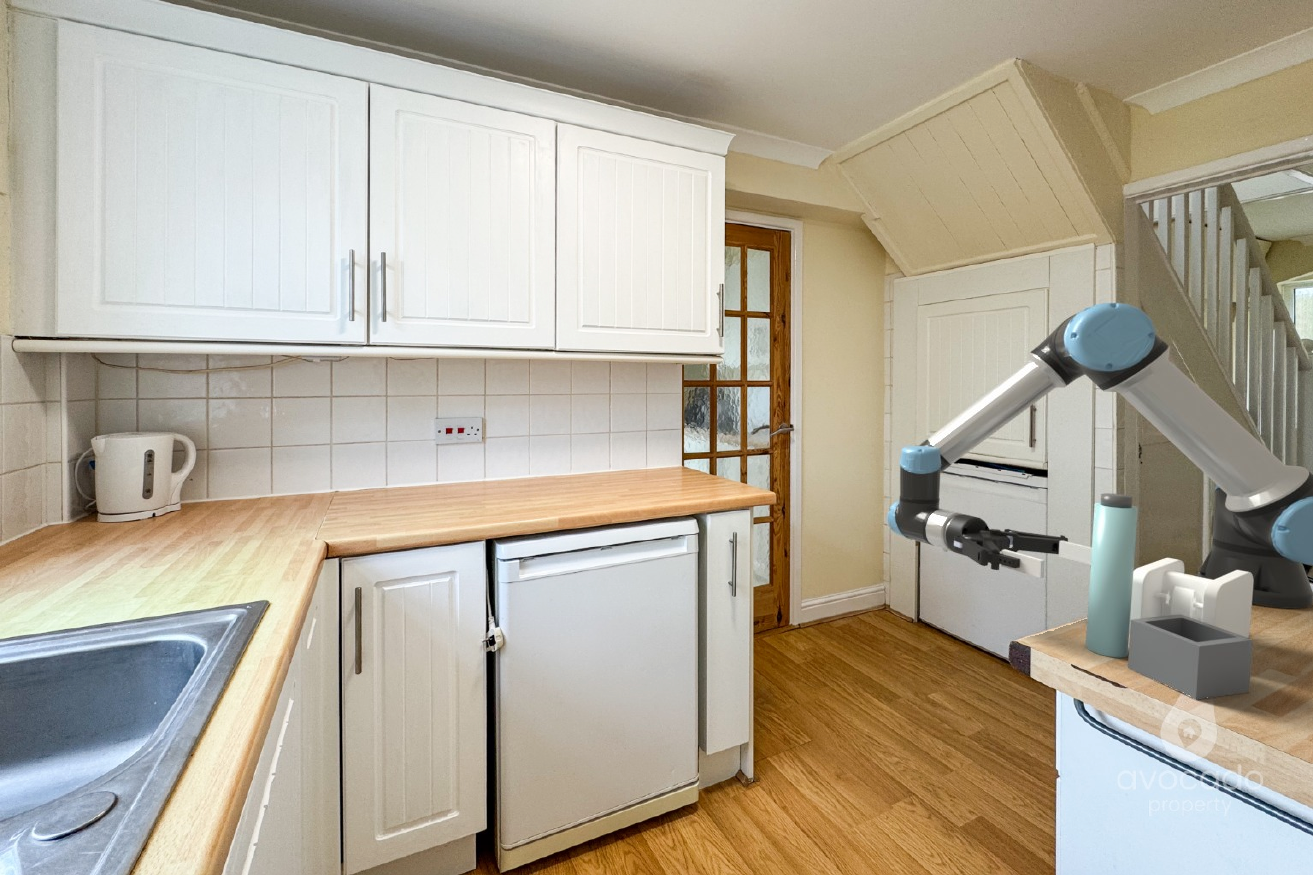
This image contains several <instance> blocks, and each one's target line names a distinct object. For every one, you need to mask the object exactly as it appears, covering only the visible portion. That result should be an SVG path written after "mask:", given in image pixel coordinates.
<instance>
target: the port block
mask: <svg viewBox="0 0 1313 875" xmlns="http://www.w3.org/2000/svg"><path fill="white" fill-rule="evenodd" d="M1253 643H1254V640H1253V639H1252V638H1249V637H1248V638H1247V637H1244V636H1241V635H1238V634H1235V633H1232V632H1230V631H1227V630H1224V629H1221V628H1218V627H1215V626H1212V625H1210V624H1207V623H1204V622H1201V621H1198V620H1195V619H1192V618H1190V617H1187V616H1184V615H1181V614H1178V615H1169V616H1160V617H1151V618H1142V619H1132V620H1131V623H1130V635H1129V643H1128V660H1127V662H1128V664H1127V668H1128V669H1129V670H1131V671H1134V672H1136V673H1139V674H1140V675H1141V676H1144V677H1147V678H1149V679H1150V678H1151V680H1153V679H1154V680H1153V681H1154V682H1157V681H1158V682H1157V683H1159V682H1160V683H1159V684H1161V683H1163V684H1166V685H1168V686H1170V687H1172V688H1173V689H1172V688H1171V689H1172V690H1174V689H1177V690H1178V691H1181V692H1184V693H1185V694H1187V695H1190V696H1191V697H1192V698H1191V697H1190V698H1191V699H1193V698H1194V699H1193V700H1195V699H1196V701H1197V700H1203V699H1202V698H1206V699H1211V697H1212V698H1219V697H1223V696H1224V697H1225V696H1233V695H1239V694H1245V693H1250V685H1251V673H1252V672H1251V671H1252V659H1253V658H1252V657H1253V647H1254V646H1253V645H1254V644H1253ZM1163 684H1162V685H1163ZM1178 691H1177V692H1178ZM1218 696H1219V697H1218ZM1207 697H1208V698H1207Z"/></svg>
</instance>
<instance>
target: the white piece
mask: <svg viewBox="0 0 1313 875" xmlns="http://www.w3.org/2000/svg"><path fill="white" fill-rule="evenodd" d="M1252 595H1253V575H1252V573H1250V572H1246V571H1241V570H1235V571H1233V572H1231V573H1229V574H1226V575H1224V576H1222V577H1219V578H1217V579H1215V580H1211V579H1206V578H1202V577H1197V576H1196V575H1192V574H1187V573H1185V564H1184V561H1183V560H1180V559H1177V558H1171V557H1166V558H1162V559H1160V560H1156V561H1154V562H1150V563H1148V564H1145V565H1143V566H1139V567H1137V568H1136V569H1134V572H1133V586H1132V600H1131V614H1130V623H1131V620H1132V619H1142V618H1151V617H1160V616H1169V615H1178V614H1181V615H1184V616H1187V617H1190V618H1192V619H1195V620H1198V621H1201V622H1204V623H1207V624H1210V625H1212V626H1215V627H1218V628H1221V629H1224V630H1227V631H1230V632H1232V633H1235V634H1238V635H1241V636H1244V637H1247V638H1249V635H1250V631H1251V622H1252V621H1251V619H1252V608H1253V607H1252V606H1253V604H1252ZM1129 636H1130V628H1129Z"/></svg>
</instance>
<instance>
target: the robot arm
mask: <svg viewBox="0 0 1313 875" xmlns="http://www.w3.org/2000/svg"><path fill="white" fill-rule="evenodd" d="M1048 335H1049V336H1047V337H1046V338H1044V340H1043V341H1041V343H1040V344H1039V345H1038V346H1036V347H1035V348H1034V349H1033V350H1031V351H1030V352H1029V353H1027V360H1026V361H1025V362H1024V363H1023V364H1021V365H1020V366H1019V367H1017V368H1016V369H1015V370H1014V371H1012V372H1011V373H1009V375H1008V376H1006V377H1005V378H1003V379H1002V380H1001V381H999V382H998V383H997V384H996V385H995V386H993V387H992V388H990V389H989V390H988V391H987V392H985V393H984V394H983V395H981V396H980V397H979V398H978V399H976V400H975V401H973V403H971V404H970V405H969V406H968V407H966V408H964V409H963V411H961V412H959V414H957V415H956V416H955V417H953V418H952V419H950V420H949V421H948V422H947V423H945V424H944V425H943V426H941V427H940V428H939V429H938V430H936V431H935V432H934V433H933V434H931V435H930V436H929V437H928V438H926V439H925V440H923V441H922V442H921V443H920V444H919V445H910V446H909V445H908V446H904V447H903V448H902V449H901V450H900V459H899V469H900V470H899V500H897V501H895V502H894V503H892V505H891V506H890V507H889V511H888V512H887V515H886V517H887V518H886V520H887V525H888V527H889V528H890V530H891V531H892V532H894V534H896V535H899V536H902V537H904V538H906V539H908V540H910V541H912V540H913V541H916V542H919V543H923V544H927V545H930V546H934V547H936V548H940V549H942V552H944V553H945V552H946V553H947V552H948V551H950V552H953V553H956V554H958V555H961V556H966V557H968V558H969V559H971V560H972V561H973V562H975V563H976V564H978V565H980V566H982V567H986V566H988V565H989V563H990V569H991V570H994V571H1000V565H1001V567H1002V568H1006V569H1009V570H1013V571H1016V572H1019V573H1021V574H1026V575H1028V576H1029V575H1030V576H1031V577H1035V578H1038V579H1043V578H1044V576H1045V559H1041V558H1038V557H1035V556H1031V555H1027V554H1024V553H1020V552H1021V551H1022V552H1032V553H1041V554H1052V555H1058V557H1060V558H1064V559H1067V560H1071V561H1075V562H1078V563H1081V564H1086V565H1089V566H1091V553H1092V546H1087V545H1084V544H1078V543H1075V542H1070V541H1069V538H1068V537H1066V536H1065V535H1062V534H1061V535H1060V536H1056V535H1048V534H1041V533H1040V534H1039V533H1032V532H1024V531H1017V530H1015V529H1014V530H1013V529H1010V528H1004V531H1003V530H1001V529H997V528H989V527H990V526H988V523H987V522H986V521H985V520H983V518H980V517H977V516H973V515H969V514H964V513H961V512H956V511H952V510H948V509H943V508H940V490H941V488H940V487H941V486H940V485H941V473H943V472H944V471H945V470H947V469H948V468H949V467H951V465H953V464H954V463H956V462H957V461H958V460H960V459H961V458H963V456H965V455H966V454H968V453H969V452H970V451H972V450H973V449H974V448H975V447H977V446H978V445H980V444H981V443H983V442H984V441H985V440H987V439H989V438H990V437H991V436H992V435H993V434H995V433H996V432H998V431H999V430H1000V429H1002V428H1003V427H1005V425H1007V424H1008V423H1010V422H1011V421H1013V420H1014V419H1015V418H1016V417H1018V416H1019V415H1021V414H1022V413H1024V412H1025V411H1026V410H1028V409H1029V408H1030V407H1031V406H1033V405H1034V404H1035V403H1037V402H1038V401H1040V400H1041V399H1042V398H1044V397H1045V396H1046V395H1047V394H1049V393H1050V392H1051V391H1053V390H1055V389H1057V388H1066V387H1067V386H1068V385H1070V384H1072V382H1074V381H1075V380H1077V379H1079V378H1081V377H1082V376H1086V377H1087V378H1088V379H1090V380H1091V381H1092V382H1093V383H1094V384H1095V385H1096V386H1097V387H1098V388H1099V389H1100V390H1101V391H1102V392H1105V393H1106V392H1107V393H1108V392H1109V393H1118V394H1119V395H1121V396H1122V397H1123V398H1124V399H1125V401H1127V402H1128V403H1129V404H1130V405H1132V407H1133V408H1135V410H1136V411H1138V412H1139V413H1140V414H1141V415H1142V416H1143V417H1144V418H1145V419H1146V420H1147V421H1148V422H1149V423H1150V424H1152V425H1153V426H1154V428H1156V430H1158V431H1159V432H1160V433H1161V434H1162V435H1163V436H1164V437H1166V439H1167V440H1169V441H1170V442H1171V444H1173V445H1174V446H1175V447H1176V448H1177V449H1178V450H1179V451H1180V452H1181V453H1183V454H1184V455H1185V457H1187V459H1189V460H1190V461H1191V462H1192V463H1193V464H1194V465H1195V466H1196V467H1197V468H1198V469H1199V470H1201V472H1203V473H1204V474H1205V475H1206V476H1207V477H1208V478H1209V479H1210V480H1212V481H1213V483H1215V486H1214V489H1213V492H1214V503H1213V504H1214V507H1213V508H1214V509H1213V520H1212V521H1213V522H1212V524H1213V526H1212V541H1211V548H1210V550H1209V552H1208V554H1207V556H1206V558H1205V560H1204V562H1203V563H1202V565H1201V567H1200V569H1199V570H1198V573H1197V577H1202V578H1206V579H1211V580H1215V579H1217V578H1219V577H1222V576H1224V575H1226V574H1229V573H1231V572H1233V571H1235V570H1241V571H1246V572H1250V573H1252V575H1253V595H1252V605H1257V606H1264V607H1271V608H1272V607H1273V608H1283V609H1304V608H1309V607H1311V606H1312V605H1313V589H1312V586H1311V583H1310V580H1309V578H1308V575H1307V573H1306V570H1305V567H1304V565H1307V566H1313V473H1312V472H1310V471H1309V470H1308V469H1307V468H1305V467H1304V466H1298V465H1288V464H1284V462H1282V460H1280V459H1279V458H1278V457H1277V456H1275V454H1273V453H1272V451H1270V450H1269V449H1268V448H1267V447H1266V446H1264V444H1262V443H1261V442H1260V441H1259V440H1258V439H1257V438H1256V437H1254V436H1253V434H1251V433H1250V432H1249V431H1248V430H1247V429H1246V428H1245V427H1244V426H1242V425H1241V424H1240V423H1239V422H1238V421H1237V420H1236V419H1235V418H1234V417H1233V416H1232V415H1230V414H1229V413H1228V412H1227V411H1226V410H1225V409H1224V408H1222V407H1221V405H1219V404H1218V403H1217V402H1216V401H1215V400H1213V399H1212V398H1211V397H1210V396H1209V395H1208V394H1207V393H1206V392H1205V391H1204V390H1203V389H1201V388H1200V387H1199V386H1198V385H1197V384H1196V383H1195V382H1194V381H1192V380H1191V378H1189V377H1188V376H1187V374H1185V373H1184V372H1182V371H1181V369H1179V367H1177V366H1176V365H1175V364H1174V363H1173V362H1171V361H1170V359H1169V358H1170V357H1169V356H1170V351H1171V346H1170V345H1169V344H1168V343H1166V342H1165V341H1164V340H1163V339H1162V338H1161V337H1160V336H1159V335H1158V334H1156V330H1155V325H1154V323H1153V321H1152V319H1151V318H1150V316H1148V315H1147V313H1146V312H1144V311H1143V310H1142V309H1140V308H1138V307H1136V306H1134V305H1131V304H1129V303H1124V302H1123V303H1122V302H1102V303H1100V304H1099V303H1098V304H1094V305H1092V306H1089V307H1086V308H1085V309H1083V310H1081V311H1079V312H1077V313H1075V314H1073V315H1071V316H1069V317H1068V318H1065V320H1063V321H1062V322H1061V323H1060V324H1059V325H1057V327H1056V328H1055V329H1054V330H1053V331H1052V332H1051V333H1050V334H1048ZM1011 546H1012V547H1011ZM1019 551H1020V552H1019ZM1303 564H1304V565H1303Z"/></svg>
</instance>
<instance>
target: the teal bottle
mask: <svg viewBox="0 0 1313 875" xmlns="http://www.w3.org/2000/svg"><path fill="white" fill-rule="evenodd" d="M1093 507H1094V508H1093V510H1094V511H1093V522H1092V523H1093V524H1092V539H1091V540H1092V541H1091V542H1092V543H1091V547H1092V553H1091V565H1090V570H1089V586H1088V587H1089V588H1088V601H1087V614H1086V616H1087V618H1086V631H1085V632H1086V633H1085V647H1086V648H1087V650H1090V652H1093V653H1095V654H1098V655H1101V656H1105V657H1109V658H1115V659H1116V658H1120V659H1121V658H1126V657H1128V656H1129V641H1130V635H1129V628H1130V614H1131V600H1132V586H1133V572H1134V571H1135V558H1136V557H1135V556H1136V542H1137V528H1138V527H1137V526H1138V514H1139V513H1138V512H1139V507H1138V506H1135V505H1133V496H1131V495H1129V494H1120V493H1111V492H1110V493H1101V494H1100V502H1095V503H1094V506H1093Z"/></svg>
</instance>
